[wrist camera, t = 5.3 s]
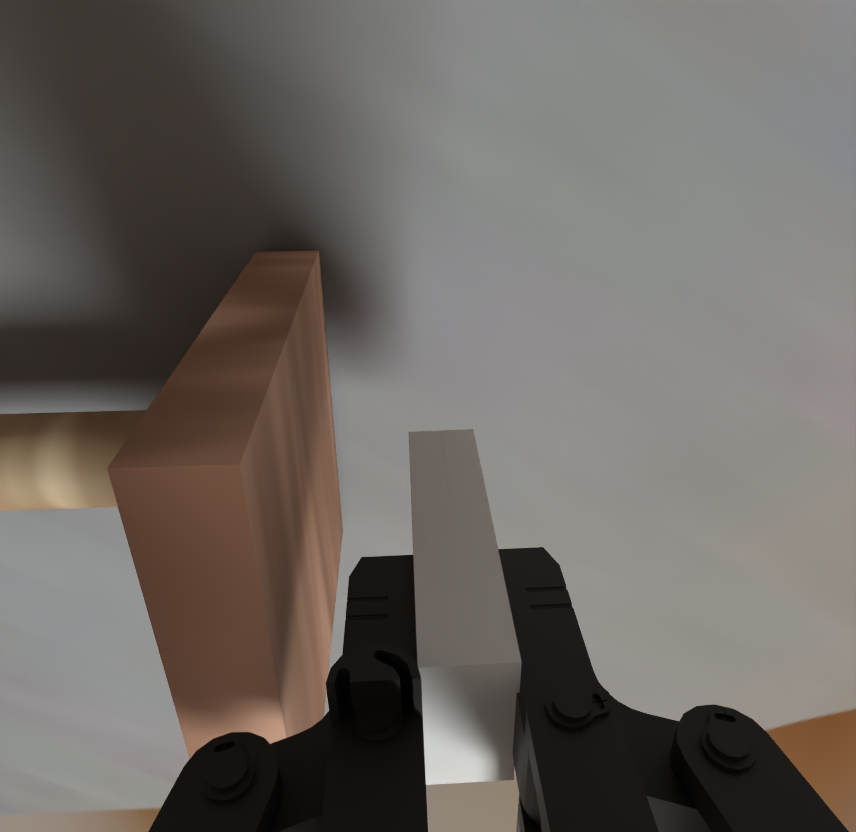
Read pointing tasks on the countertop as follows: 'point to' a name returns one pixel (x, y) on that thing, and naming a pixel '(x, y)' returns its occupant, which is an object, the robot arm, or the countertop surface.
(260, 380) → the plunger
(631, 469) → the countertop surface
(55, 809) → the countertop surface
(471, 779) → the robot arm
